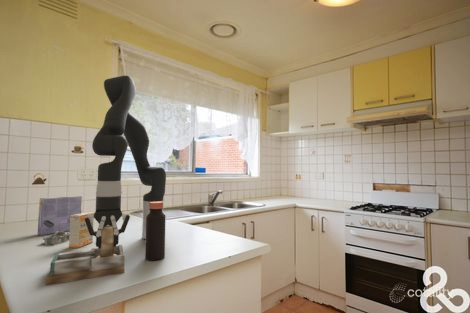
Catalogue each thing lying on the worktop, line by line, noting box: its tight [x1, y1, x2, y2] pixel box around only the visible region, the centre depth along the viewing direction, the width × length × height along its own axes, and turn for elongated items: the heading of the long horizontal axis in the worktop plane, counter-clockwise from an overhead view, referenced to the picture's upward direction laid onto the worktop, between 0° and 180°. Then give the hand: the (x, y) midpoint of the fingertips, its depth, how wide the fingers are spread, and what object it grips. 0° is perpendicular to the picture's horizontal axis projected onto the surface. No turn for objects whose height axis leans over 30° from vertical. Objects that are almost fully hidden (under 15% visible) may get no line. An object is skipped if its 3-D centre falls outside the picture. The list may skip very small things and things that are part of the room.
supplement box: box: [68, 212, 95, 249], centre depth 111 cm, size 8×5×13 cm, turn 168°
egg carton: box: [42, 230, 70, 246], centre depth 116 cm, size 11×8×4 cm
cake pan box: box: [37, 195, 83, 236], centre depth 134 cm, size 19×5×18 cm, turn 144°
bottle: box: [144, 201, 167, 262], centre depth 95 cm, size 7×7×20 cm
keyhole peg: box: [96, 225, 117, 258], centre depth 86 cm, size 6×6×11 cm
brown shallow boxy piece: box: [45, 244, 125, 286], centre depth 84 cm, size 20×16×5 cm
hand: (107, 246), depth 86 cm, fingers closed on keyhole peg, 4 cm apart
